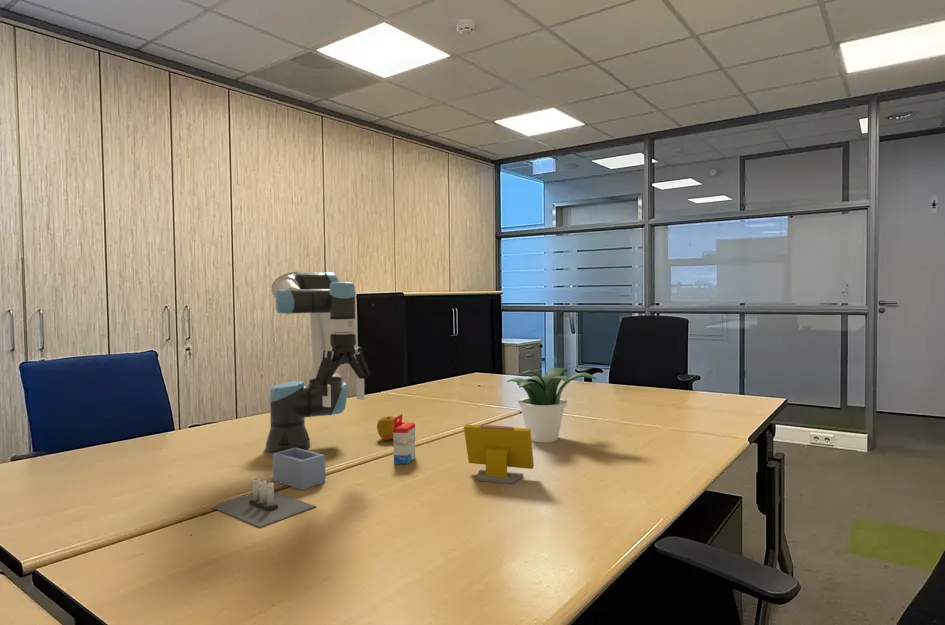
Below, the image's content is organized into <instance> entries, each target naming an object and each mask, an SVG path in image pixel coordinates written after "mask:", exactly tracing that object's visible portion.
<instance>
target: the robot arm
mask: <svg viewBox="0 0 945 625" xmlns="http://www.w3.org/2000/svg"><path fill="white" fill-rule="evenodd" d="M355 287H356V286H355V284H354V283H353V282H352V281H343V282H342V281H340V279H339V278H338V276H337V274H336V273H334V272H329V271H328V272H327V271H293V272H288V273H284V274H282V275H279V276H278V277H277V278H275V280H274V281H273V282H272V286H271V293H272V296H273V298H275V301H274V302H275V310H276V312H277V313H278V314H286V315H290V314H309V317H310V320H309V321H310V336H311V356H312V359H311V360H312V373H313V374H312V375H311V376H310V378H309V384H305V382H304V381H303V380H293V381H287V382H282V383H279V384H276V385H273V386H272V387H271V388H270V392H269V402H270V403H269V405H270V406H269V408H270V409H269V411H270V413H269V414H270V415H269V417H270V428H269V432H268V436H267V439H266V442H265V451H266V452H268V453H271V454H272V453H276V452H280V451H284V450H288V449H292V448H295V447H296V448H300V449H304V450H307V449H309V448H310V447H311V439H310V436H309V434H308V431H307V428H306V426H305V424H306V422H305V421H306V420H305V418H313V417H323V416H324V417H326V416H333V415H334V416H335V415H340V414H342V413H343V412H344V411H345V408H346V406H347V401H348V400H347V398H348V384H347V382H346V381H343V380H342V376H341V375H340V374H339V373H338V368H339V367H340V366H341V365H345V364H347V365H349V366H350V367H351V369H352V370H353V372H354V373H355V374H356V376H357V378H355V380H356V383H355V386H356V387H355V388H356V393H355V394H356V400H360V401H361V400H365V389H366V379H368V378H369V376H370V375H371V371H370V369H369V368H370V367H369V366H368V364H367V363H368V362H366V361H367V360H366V358H365V356H364V353H363V351H364V350H363V347H361V346H356V344H357V339H356V338H357V337H356V336H357V335H356V333H355V332H356V331H357V330H356V295H357V293H356V289H355Z"/></svg>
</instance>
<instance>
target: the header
mask: <svg viewBox="0 0 945 625" xmlns="http://www.w3.org/2000/svg"><path fill="white" fill-rule="evenodd" d="M274 488H275V484H274V482H268V483H267V480H266V479H265V480H264V479H263V480H260V478H259V477H253V478H252V493H250V495H249V494H247V495H248V496H246V495H243V496H240V497H237V498H234V499H231V500H227V501H225V502H221V503H218V504H215V506H214V505H212V506H213V508H214V509H213V508H212V509H213V510H216V511H218V512H221V513H223V514H226V515H228V516H230V517H233V518H235V519H237V520H240V521H242V522H245V523H246V524H249V525H252V526H255V527H257V528H258V529H261V528H264V527H266V526H269V525H272V524H275V523H277V522H280V521H282V520H286V519H288V518H291V517H293V516H296V515H299V514H302V513H304V512H308V511H310V510H313V509H315V508H317V506H316V505H314V504H311V503H308V502H306V501H302V500H300V499H297V498H293V497H291V496H288V495H285V494H283V493H280V492H276V491H275V490H274Z"/></svg>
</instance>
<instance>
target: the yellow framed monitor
mask: <svg viewBox="0 0 945 625" xmlns="http://www.w3.org/2000/svg"><path fill="white" fill-rule="evenodd" d="M463 431H464V437H465V445H466V446H465V447H466V451H467V452H466V454H467V459H468V464H476V465H485V469H481V468H480V469H479V470H478V473H477V475H476V481H479V482H486V483H487V482H489V483H497V484H498V483H499V484H509V485H513V484H514V483H515V482H517V481H519V480H520V479H521V478H523V477H524V473H522V472H521V473H520V472H512V471H508V467H509V468H517V469H531V470H533V469H534V467H535V463H534V454H533V453H534V451H533V441H531V430H530V429H526V427H525V428H523V427H520V428H519V427H514V426H505V425H494V424H493V425H492V424H490V425H489V424H481V425H477V424H465V425H464V427H463Z"/></svg>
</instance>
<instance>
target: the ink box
mask: <svg viewBox="0 0 945 625" xmlns="http://www.w3.org/2000/svg"><path fill="white" fill-rule="evenodd" d="M397 420H398V422H397ZM392 440H393V464H395V465H409V464H410V463H411V462H412V461H413V460H414V459H415V458H416V423H415V422H405V421H404V422H403V413H401V414H398V415H397V416H396V418H394V425H393V439H392Z"/></svg>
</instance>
